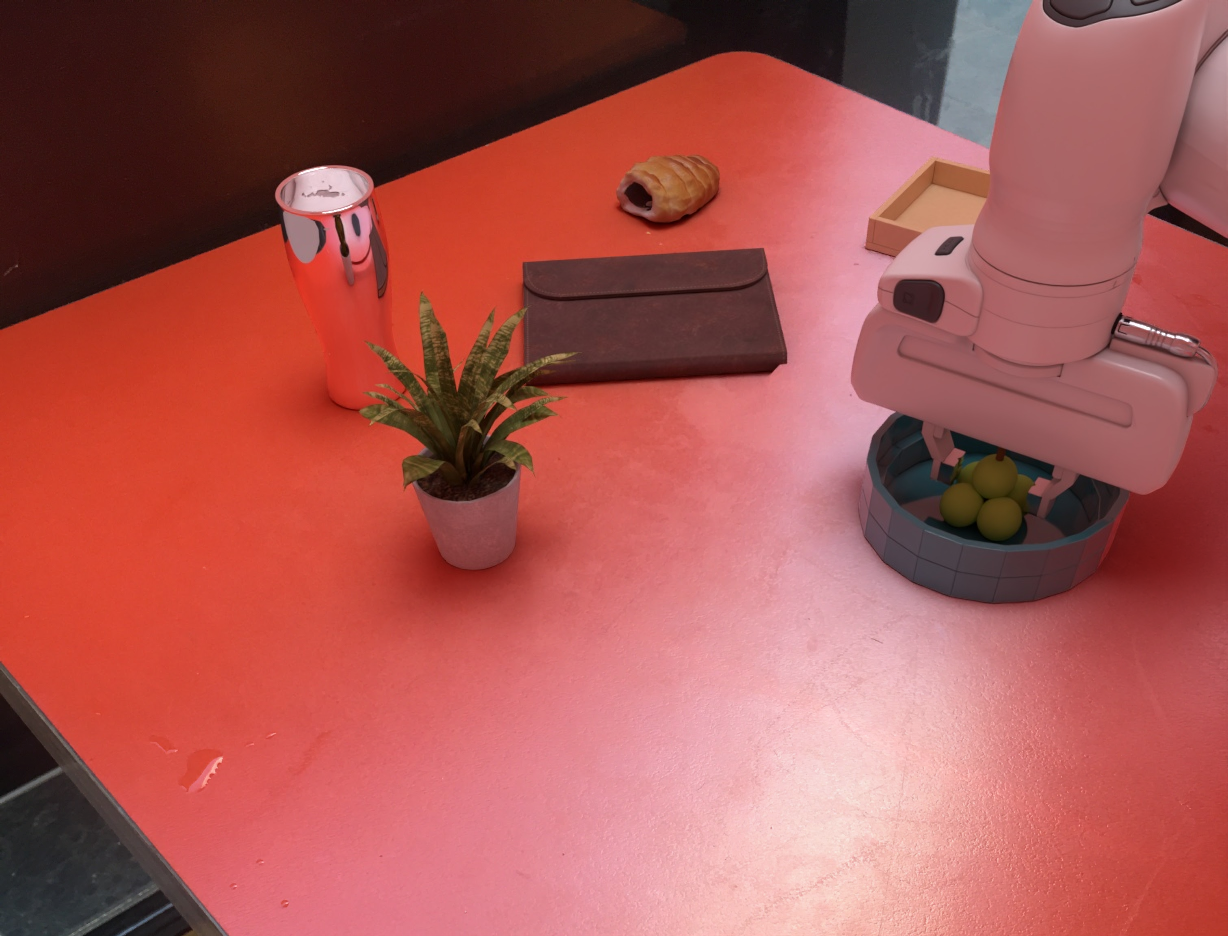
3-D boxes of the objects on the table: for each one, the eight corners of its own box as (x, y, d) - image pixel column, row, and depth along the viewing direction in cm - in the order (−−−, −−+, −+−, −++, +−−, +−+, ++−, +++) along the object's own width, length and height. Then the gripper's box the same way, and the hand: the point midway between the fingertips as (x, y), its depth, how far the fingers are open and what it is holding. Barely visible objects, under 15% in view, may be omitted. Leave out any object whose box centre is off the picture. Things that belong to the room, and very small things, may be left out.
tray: (1092, 229, 104) (1101, 199, 102) (1037, 298, 98) (1045, 266, 96) (927, 185, 109) (932, 155, 107) (864, 248, 103) (868, 217, 101)
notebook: (786, 372, 93) (788, 348, 91) (526, 388, 93) (523, 364, 91) (761, 267, 102) (763, 244, 100) (524, 281, 102) (522, 258, 100)
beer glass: (364, 350, 97) (322, 154, 85) (432, 378, 94) (398, 179, 82) (303, 395, 93) (249, 197, 81) (371, 425, 91) (326, 225, 79)
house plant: (532, 654, 76) (505, 430, 63) (335, 605, 79) (270, 383, 66) (612, 511, 84) (602, 286, 71) (429, 472, 87) (388, 249, 74)
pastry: (685, 169, 112) (686, 126, 109) (739, 195, 109) (741, 151, 106) (610, 207, 109) (609, 163, 106) (662, 235, 106) (663, 190, 103)
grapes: (1038, 508, 81) (1061, 434, 77) (1006, 555, 79) (1028, 481, 74) (962, 482, 83) (980, 407, 79) (928, 526, 81) (945, 452, 76)
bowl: (1142, 500, 83) (1167, 437, 79) (1051, 647, 75) (1072, 585, 71) (921, 425, 88) (933, 363, 84) (815, 554, 81) (823, 492, 77)
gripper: (1248, 318, 66) (1164, 521, 77) (901, 222, 74) (871, 420, 85) (1211, 377, 63) (1129, 579, 74) (853, 271, 70) (828, 469, 82)
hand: (989, 494), depth 80 cm, fingers closed on grapes, 5 cm apart
